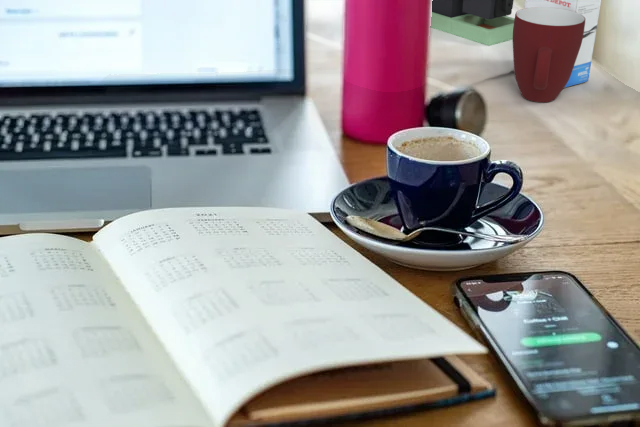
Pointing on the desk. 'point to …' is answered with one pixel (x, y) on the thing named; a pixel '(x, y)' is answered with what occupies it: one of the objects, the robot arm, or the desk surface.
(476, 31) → the holder
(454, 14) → the black block
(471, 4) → the dark grey block
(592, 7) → the ink box
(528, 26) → the mug
